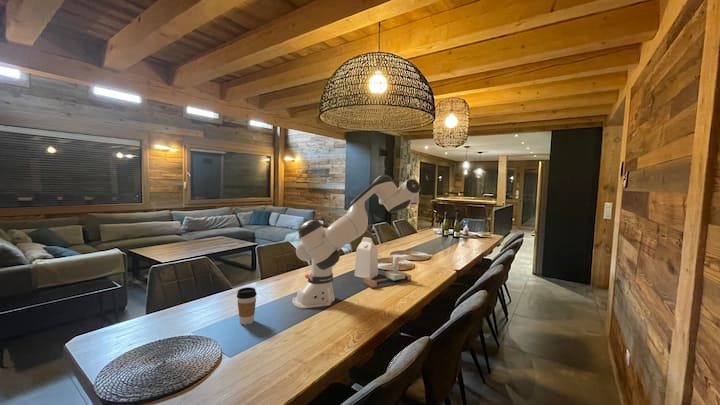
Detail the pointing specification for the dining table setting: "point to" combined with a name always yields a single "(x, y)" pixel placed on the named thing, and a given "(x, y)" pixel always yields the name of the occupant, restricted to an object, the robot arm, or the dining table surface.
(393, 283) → the rail
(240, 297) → the coffee cup
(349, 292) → the dining table surface
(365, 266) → the milk
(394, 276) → the white stand
